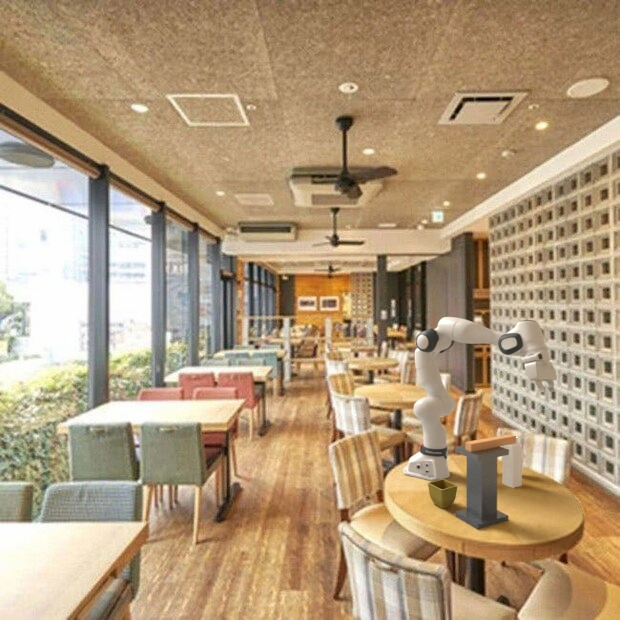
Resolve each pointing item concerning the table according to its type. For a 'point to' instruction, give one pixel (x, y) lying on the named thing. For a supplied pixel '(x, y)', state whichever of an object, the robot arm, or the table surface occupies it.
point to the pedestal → (482, 487)
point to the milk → (512, 465)
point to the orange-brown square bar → (490, 442)
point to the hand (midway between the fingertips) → (547, 391)
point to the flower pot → (442, 492)
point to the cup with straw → (522, 451)
